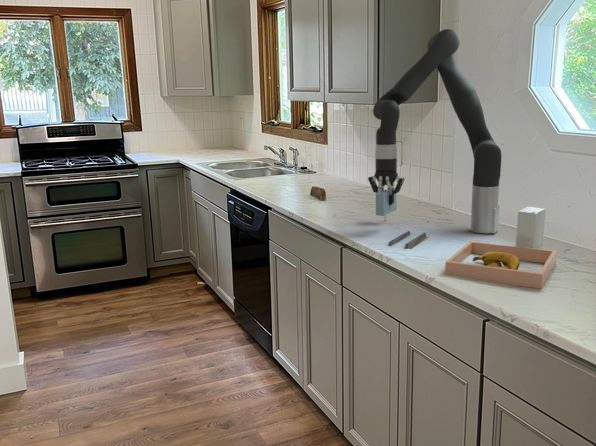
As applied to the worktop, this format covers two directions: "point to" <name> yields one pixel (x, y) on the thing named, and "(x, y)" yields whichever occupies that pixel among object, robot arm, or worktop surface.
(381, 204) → the door panel
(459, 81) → the robot arm
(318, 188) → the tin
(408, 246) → the door track
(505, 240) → the worktop surface
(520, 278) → the fruit tray rim
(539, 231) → the skincare box
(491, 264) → the banana
